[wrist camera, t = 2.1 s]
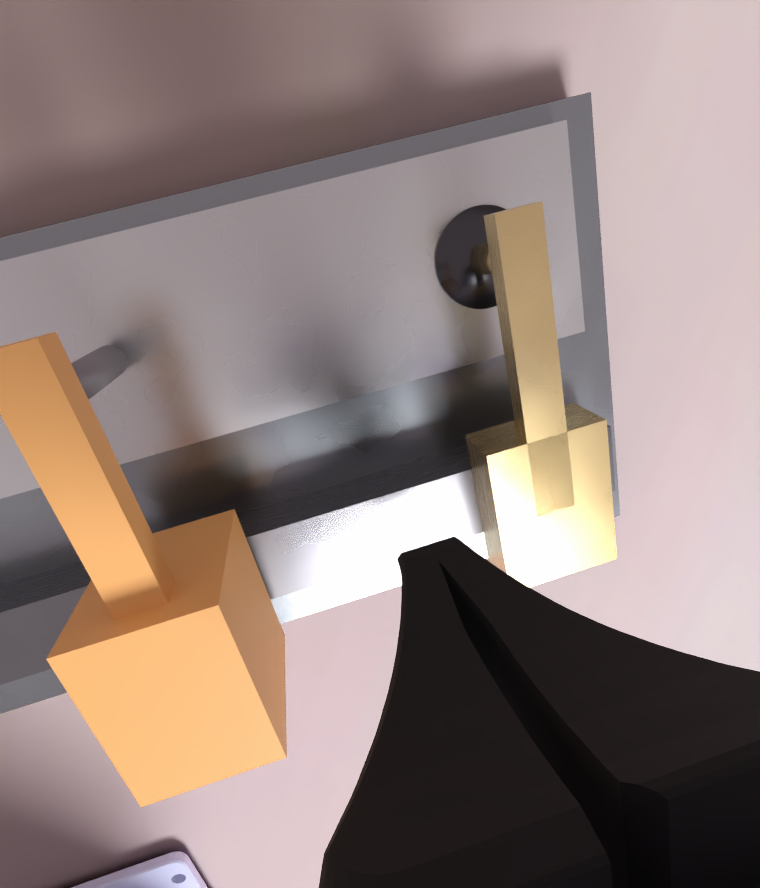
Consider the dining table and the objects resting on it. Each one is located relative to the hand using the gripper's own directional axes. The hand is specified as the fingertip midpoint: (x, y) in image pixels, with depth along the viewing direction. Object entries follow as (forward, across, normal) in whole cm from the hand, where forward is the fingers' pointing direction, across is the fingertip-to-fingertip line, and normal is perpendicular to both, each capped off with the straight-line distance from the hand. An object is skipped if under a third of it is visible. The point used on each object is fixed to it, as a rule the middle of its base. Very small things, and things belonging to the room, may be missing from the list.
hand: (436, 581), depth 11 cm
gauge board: (+5, +8, -3) cm, 10 cm away
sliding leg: (+3, +5, -3) cm, 7 cm away
